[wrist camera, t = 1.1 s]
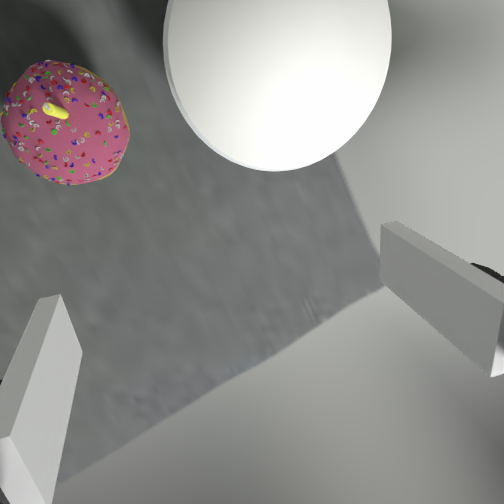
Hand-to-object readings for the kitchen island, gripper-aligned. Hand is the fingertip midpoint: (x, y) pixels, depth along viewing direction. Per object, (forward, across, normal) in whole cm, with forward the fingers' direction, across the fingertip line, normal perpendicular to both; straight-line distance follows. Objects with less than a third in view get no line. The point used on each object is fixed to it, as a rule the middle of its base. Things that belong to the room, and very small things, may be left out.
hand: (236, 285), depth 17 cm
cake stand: (+23, +8, +8) cm, 25 cm away
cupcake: (+23, -8, +5) cm, 25 cm away
